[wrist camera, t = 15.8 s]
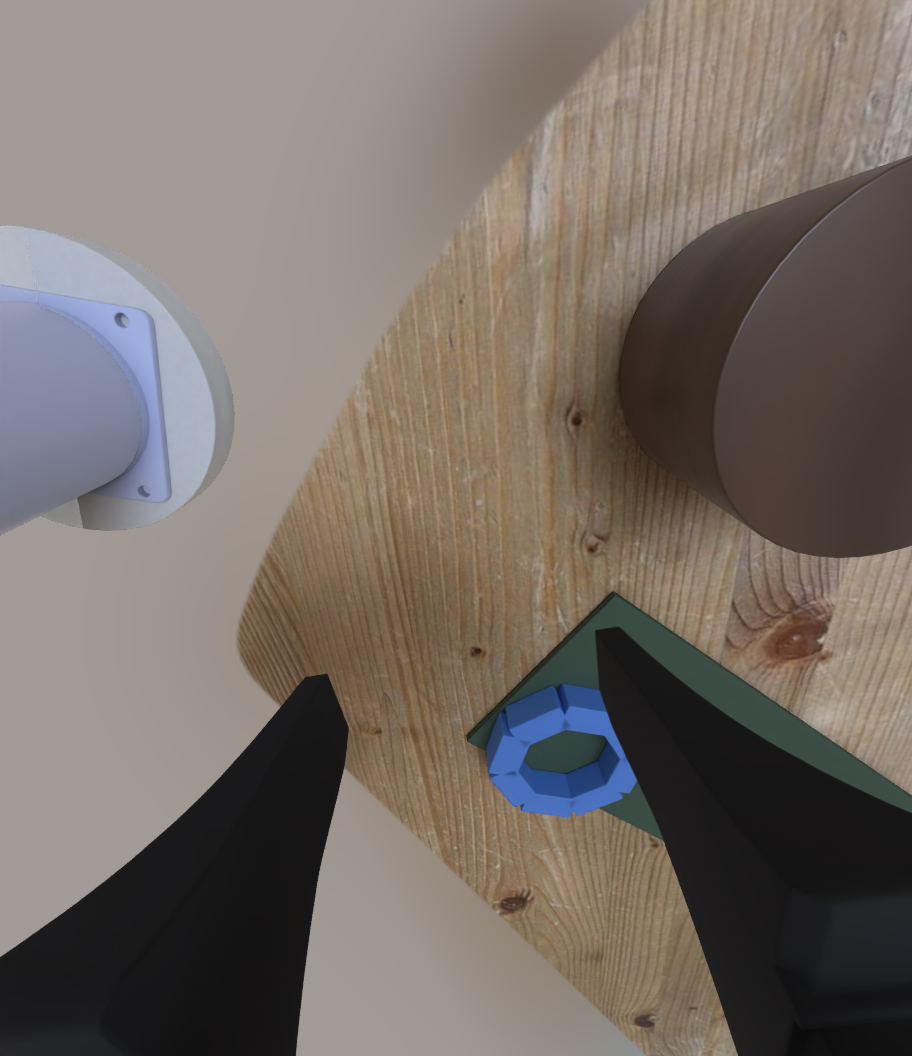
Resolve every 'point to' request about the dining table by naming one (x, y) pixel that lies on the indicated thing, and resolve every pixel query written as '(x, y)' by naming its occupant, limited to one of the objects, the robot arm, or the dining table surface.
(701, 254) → the platform
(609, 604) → the mat
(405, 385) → the dining table surface
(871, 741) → the dining table surface
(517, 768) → the ring
